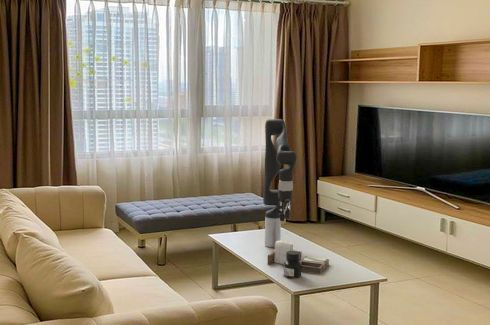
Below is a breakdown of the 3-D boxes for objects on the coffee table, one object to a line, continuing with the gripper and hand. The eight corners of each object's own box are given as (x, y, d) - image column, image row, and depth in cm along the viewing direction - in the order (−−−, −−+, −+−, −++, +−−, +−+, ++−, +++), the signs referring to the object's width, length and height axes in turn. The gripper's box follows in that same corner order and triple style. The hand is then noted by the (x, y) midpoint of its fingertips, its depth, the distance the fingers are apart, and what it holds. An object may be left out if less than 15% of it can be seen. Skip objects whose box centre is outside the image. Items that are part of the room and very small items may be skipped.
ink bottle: (280, 273, 300) (280, 250, 298) (295, 271, 304) (296, 249, 302) (289, 279, 291) (289, 256, 290) (305, 277, 295) (305, 254, 293)
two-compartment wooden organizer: (305, 261, 321) (305, 255, 321) (328, 264, 316) (328, 258, 316) (295, 270, 306) (295, 264, 305) (320, 274, 301) (320, 267, 300)
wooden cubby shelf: (276, 257, 328) (276, 248, 327) (301, 260, 322) (301, 251, 322) (267, 264, 315) (267, 255, 314) (293, 267, 310) (293, 258, 309)
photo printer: (293, 264, 316) (294, 241, 314) (289, 266, 312) (290, 243, 311) (277, 260, 322) (277, 238, 320) (273, 262, 318) (273, 240, 316)
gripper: (283, 186, 319) (282, 215, 321) (274, 190, 306) (273, 221, 308) (296, 187, 316) (295, 217, 319) (288, 191, 303) (287, 222, 306)
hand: (284, 219), depth 314 cm, fingers open, 8 cm apart
